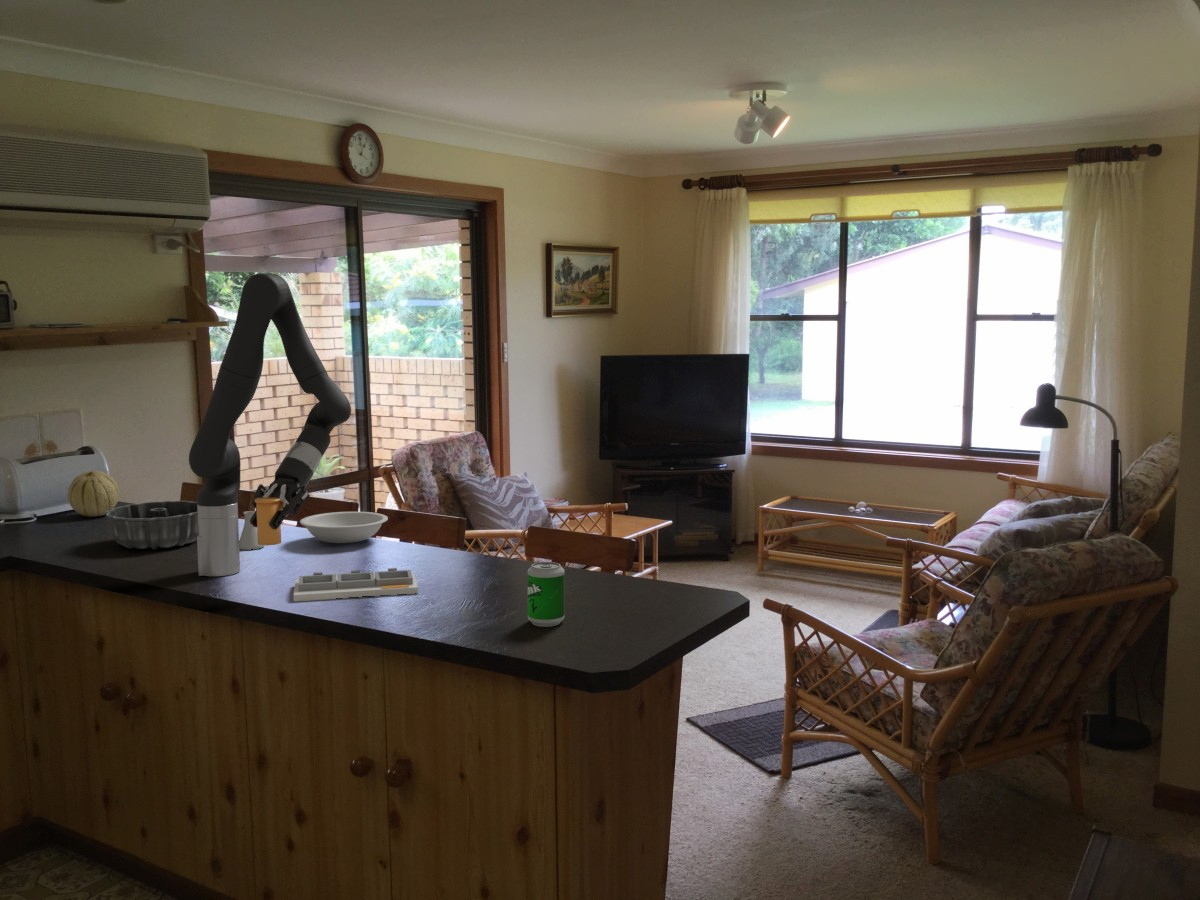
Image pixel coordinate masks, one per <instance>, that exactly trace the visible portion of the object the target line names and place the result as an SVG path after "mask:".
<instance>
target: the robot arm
mask: <svg viewBox="0 0 1200 900" xmlns="http://www.w3.org/2000/svg"><path fill="white" fill-rule="evenodd" d="M241 289H242V290H241V294H240V298H239V304H238V310H237V315H236V319H235V323H234V327H233V330H232V332H231V335H230V338H229V340H228V342H227V347H226V349H225V353H224V356H223V358H222V359H221V360H222V361H221V363H220V367H219V370H218V372H217V376H216V380H215V383H214V387H213V390H212V392H211V397H210V398H209V401H208V406H207V408H206V411H205V414H204V417H203V420H202V423H201V425H200V427H199V428H198V432H197V433H196V436H195V437H194V440H193V443H192V445H191V447H190V450H189V452H188V453H189V454H188V463H189V466H190V469H191V471H192V472H193V474H194V475H196V476H198V477H199V478H204V483H203V485H202V487H201V489H199V491H198V492H197V493H196V502H197V514H198V537H197V540H196V543H197V545H196V547H197V564H198V565H197V566H198V567H197V568H198V570H197V571H198V576H199V577H200V576H201V577H202V576H205V577H223V576H224V577H225V576H230V575H234V574H237V573H239V572H241V561H240V560H241V559H240V557H241V556H240V553H241V552H240V549H239V540H240V535H239V534H240V533H239V531H240V529H239V508H238V507H239V506H238V504H239V503H238V496H239V493H240V489H241V454H240V451H239V447H238V446H237V444H236V443H235V442H234V441H233V440H232V439H231V438H230V436H231V433H232V430H233V428H234V426H235V425H236V423H237V421H238V420H239V418H240V417H241V415H242V414H243V413H244V411H245V410H246V409H247V408H248V406H249V404H250V403H251V401H252V399H253V398H254V396H255V393H256V391H257V389H258V385H259V382H260V379H261V376H262V372H263V367H264V354H265V352H264V350H265V338H266V333H267V331H268V328H269V325H270V322H273V324H274V326H275V328H276V330H277V332H278V334H279V336H280V339H281V342H282V345H283V349H284V353H285V357H286V360H287V362H288V365H289V367H290V370H291V371H292V373H293V375H294V377H295V379H296V381H297V383H298V384H299V386H300V388H301V390H302V391H303V392H304V393H305V394H307V395H308V394H310V395H313V396H315V398H316V399H317V401H318V402H317V403H315V404H314V405H313V406H312V408H311V410H310V411H309V412H308V415H307V417H306V420H305V423H304V426H303V430H302V431H301V432H300V433H299V435H298V437H297V438H296V440H295V442H294V443H293V445H292V446H291V447H290V448H289V449H288V451H287V452H286V454H285V456H284V457H283V460H282V461H281V462H280V464H279V465H278V468H277V469H276V470H275V473H274V480H273V481H272V482H271V483H270V484H269V485H266V486H264V485H263V484H258V486H257V488H256V491H255V494H254V496H253V499H252V502H251V506H252V507H253V508H254V509H255V510H254V511H255V512H254V514H253V516H252V517H251V519H250V523H251V524H252V526H253V527H257V511H256V502H255V499H257V498H262V497H279V499H281V501H280V504H279V509H278V510H279V511H276V513H275V514H274V516H273V518H272V519H271V521H270V523H269V526H270V527H271V528H272V529H275V530H276V529H277V528H278V527H279V526H280V525H281V526H282V523H283V521H284V520H285V518H286V517H288V516H289V515H291V516H295V515H296V514H297V513H298V511H300V509H301V508H302V507H303V506H304V504H305V503H306V502H307V501H308V500H309V499H310V497H311V495H310V494H309V492H308V490H306V488H307V486H308V484H309V482H310V481H311V479H312V477H313V476H314V474H315V472H316V471H317V469H318V467H319V465H320V463H321V460H322V459H323V457H324V455H325V453H326V451H327V450H328V448H329V446H330V444H331V435H330V434H331V432H332V431H333V429H334V428H335V427H337V426H341V424H343V423H346V422H348V420H349V419H350V417H351V415H352V407H351V404H350V400H349V398H348V397H347V395H346V394H345V393H344V392H343V391H342V389H341V388H340V387H339V386H338V385H337V383H336V382H335V381H334V380H333V379H332V378H331V377H330V376H329V373H328V372H327V370H326V368H325V366H324V364H323V362H322V361H321V358H320V356H319V355H318V353H317V351H316V350H315V349H316V348H314V346H313V343H312V342H311V340H310V339H311V338H310V337H309V336H308V333H307V330H306V329H305V327H304V326H305V325H304V324H303V322H302V319H301V317H300V314H299V311H298V309H297V306H296V303H295V300H294V296H293V293H292V291H291V288H290V286H289V283H288V282H287V280H286V279H284V277H282V276H281V275H279V274H277V273H270V272H261V273H260V272H259V273H255V274H253V275H250V276H249V277H248V278H247V280H246V281H245V283H244V284H243V286H242V288H241Z"/></svg>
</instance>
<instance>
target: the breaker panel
mask: <svg viewBox="0 0 1200 900" xmlns="http://www.w3.org/2000/svg"><path fill="white" fill-rule="evenodd" d="M298 577H299V578H298V579H295V583H294V589H293V602H304V601H305V602H306V601H307V602H309V601H322V600H323V601H324V600H337V599H336V598H343V599H349V598H348V597H359V598H363V597H362V596H375V597H381V596H380V595H391V596H398V595H397V594H407V595H416V594H415V593H418V594H419V586H418V582H417V580H416V577H415V573H414V572H412V570H411V569H402V570H400V569H399V570H398V569H397V567H392V568H387V570H383V571H375V572H374V571H368V572H367V571H366V572H361V569H355V570H350V573H348V572H346V573H337V574H336V573H332V574H331V573H329V574H323V572H322V571H319V572H317V571H316V572H313V574H311V575H300V576H298Z"/></svg>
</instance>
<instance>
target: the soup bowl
mask: <svg viewBox="0 0 1200 900" xmlns="http://www.w3.org/2000/svg"><path fill="white" fill-rule="evenodd" d="M388 519H389V518H388V516H387V515H385V514H384V513H383V514H382V513H377V512H371V511H336V512H325V513H318V514H313V515H310V516H309V515H308V516H305V517H304V518H301V519H300V520H299V523H300V525H302V526H304V527H306V530H307V531H308V532H309V533H310V534H311V535H312V536H313V537H314V538H316V539H317V540H319V541H321V542H325V543H328V544H329V543H330V544H352V543H358V542H361V541H365V540H368V539H370V538H371V537H373V536H374V535H375V534H376V533H378V531H379V530H380V528H381V527H382V525H383V524H384V523H386V522H387V521H388Z"/></svg>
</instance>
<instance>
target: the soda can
mask: <svg viewBox="0 0 1200 900" xmlns="http://www.w3.org/2000/svg"><path fill="white" fill-rule="evenodd" d="M565 578H566V577H565V568H564V567H563V566H562V565H561V564H560V563H558V562H553V561H540V562H534V563H532V564H531V566H530V567H529V568H528V569H527V619H528V621H530V622H531V624H532V625H533V626H537V627H541V628H542V627H543V628H544V627H545V628H548V627H555V626H558V625H560V624H561V622H562V621H563V620H564V619H565V617H566V615H565V607H566V606H565V603H566V602H565V596H566V595H565V585H566V584H565V583H566V582H565V580H566V579H565Z"/></svg>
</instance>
